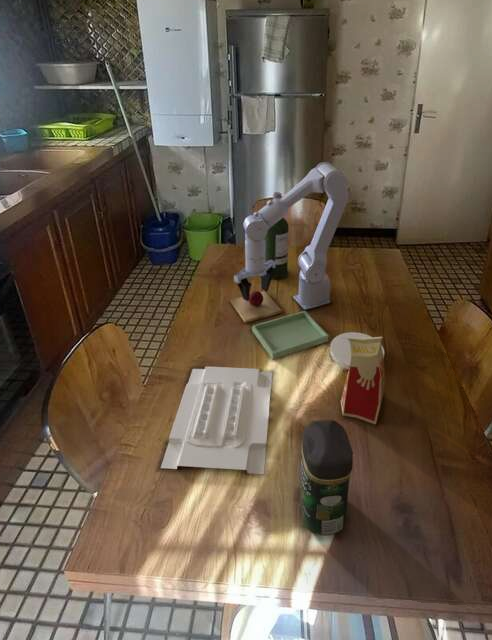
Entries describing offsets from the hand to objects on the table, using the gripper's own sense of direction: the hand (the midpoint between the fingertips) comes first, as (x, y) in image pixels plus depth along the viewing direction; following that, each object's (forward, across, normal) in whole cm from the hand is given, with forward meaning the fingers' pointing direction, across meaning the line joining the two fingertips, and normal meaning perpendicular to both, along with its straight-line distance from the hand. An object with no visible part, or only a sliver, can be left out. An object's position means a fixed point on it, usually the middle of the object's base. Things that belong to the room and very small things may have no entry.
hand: (255, 294), depth 133 cm
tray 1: (+5, -32, -27) cm, 42 cm away
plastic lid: (+5, +5, -35) cm, 36 cm away
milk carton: (+5, -8, -46) cm, 47 cm away
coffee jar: (+5, -32, -56) cm, 65 cm away
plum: (+1, 0, 0) cm, 1 cm away
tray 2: (+5, -2, -17) cm, 18 cm away
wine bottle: (+5, +19, +11) cm, 22 cm away
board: (+5, 0, 0) cm, 5 cm away
